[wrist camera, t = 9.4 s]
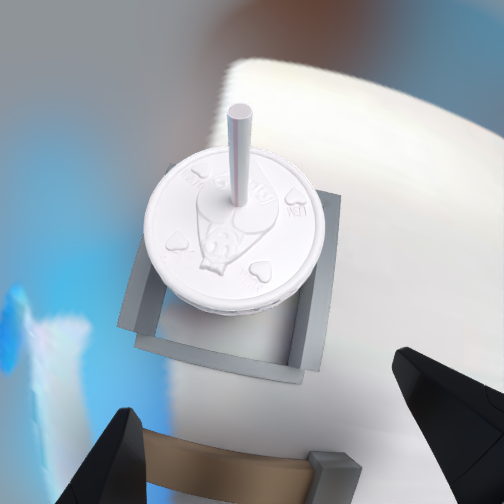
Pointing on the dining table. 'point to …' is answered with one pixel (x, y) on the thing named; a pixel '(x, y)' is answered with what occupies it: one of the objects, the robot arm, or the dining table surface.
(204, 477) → the capped slat
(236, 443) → the dining table surface
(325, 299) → the endcap cradle
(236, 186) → the smoothie
